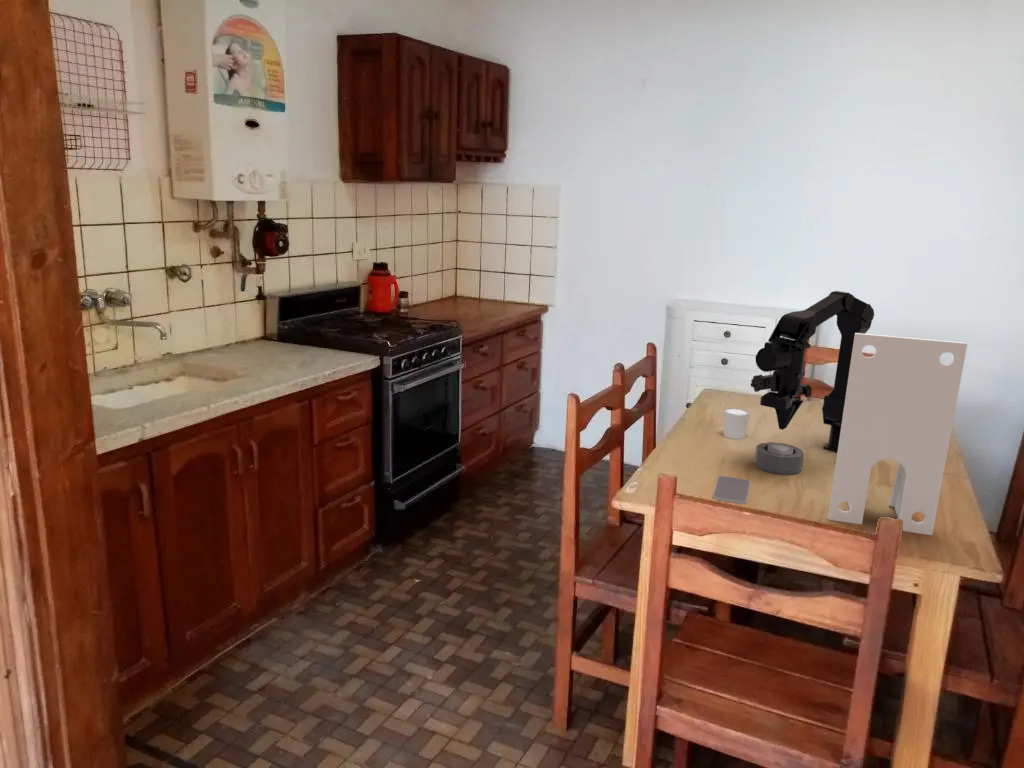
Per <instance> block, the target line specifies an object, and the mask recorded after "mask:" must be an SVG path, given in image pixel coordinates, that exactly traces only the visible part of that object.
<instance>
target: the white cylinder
mask: <svg viewBox="0 0 1024 768" xmlns="http://www.w3.org/2000/svg"><path fill="white" fill-rule="evenodd" d="M749 417H750V412H749V411H747V410H745V409H741V408H740V409H739V408H726V409H724V410H723V436H724V437H725V438H728V439H732V440H733V439H734V440H740V439H741V440H742V439H744V438H745V436H746V432H747V426H748V422H749Z"/></svg>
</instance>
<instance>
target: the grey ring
mask: <svg viewBox="0 0 1024 768" xmlns="http://www.w3.org/2000/svg"><path fill="white" fill-rule="evenodd" d="M770 444H782V445H787V446H790V447H792V448H793V455H779V454H774V453H770V452H768V451H767V450H768V445H770ZM804 457H805V453H804V451H803V449H801V448H800V447H797V446H795V445H791V444H789V443H788V444H786V443H782V442H771V441H769V442H762V443H761V442H760V443H759V444H757V445H755V452H754V466H755V467H756V468H757V469H759V470H761V471H763V472H766V473H770V474H774V475H781V476H782V475H783V476H790V475H791V476H793V475H797V474H799V473H801V471H802V468H803V463H804Z"/></svg>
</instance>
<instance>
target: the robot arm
mask: <svg viewBox="0 0 1024 768" xmlns="http://www.w3.org/2000/svg"><path fill="white" fill-rule="evenodd" d="M834 316H836V326H837V329H838V330H839V333H840V335H841V336H840V337H841V338H840V344H839V349H838V358H837V365H836V369H835V370H836V371H835V377H834V384H833V389H832V390H831V391H830V392H829V394H828V395H824V397H823V405H822V408H821V410H822V421H823V425H827V426H830V429H829V430H830V431H829V437H828V443H826V444H825V445H823V449H825V450H830V451H834V452H838V445H839V438H840V431H841V425H842V418H843V411H844V404H845V397H846V391H847V384H848V377H849V370H850V363H851V356H852V350H853V343H854V336H855V333H862V334H867V332H868V331H869V330H870V329H871V325H872V322H873V321H874V317H875V310H874V308H873V307H872V305H871V304H870V303H867V302H865V301H863V300H861V299H859V298H857V297H856V296H854V295H853V294H852V293H850V292H845V291H839V290H834V291H831V292H830V293H829V294H828V295H827V296H826V297H824V298H823V299H821V300H818V301H817V302H815V303H814V304H812V305H810V306H809V307H807V308H806V309H803V310H798V311H797V310H796V311H790V312H788V313H785V314H783V315H782V316H780V319H779V320H778V322H777V324H776V325H775V328H773V331H772V333H771V334H770V337H769V338H768V341H766V342H765V343H764V347H762V348H760V349H759V350H758V352H757V354H756V355H755V364H756V365H757V368H758V369H759V370H761V371H762V372H765V373H769V372H772V374H767V375H763V374H758V375H757V374H756V375H754V376H752V377H753V378H752V379H750V382H751V383H750V387H751V388H752V389H753V391H754V392H756V393H757V392H760V391H763V390H770V391H769V392H767V393H764V394H763V395H762V396H760V402H759V406H762V407H767V408H771V409H772V408H773V409H775V414H776V419H777V424H778V425H777V426H778V429H779V430H781V431H784V430H785V429H787V427H788V426H789V424H790V423H791V421H792V420H793V417H794V416H795V415H796V413H797V411H798V410H799V408H800V407H801V405H802V404H803V403H804V400H803V399H802V400H801V399H798V398H799V396H798V395H804V397H805V398H810V397H812V392H813V388H812V386H811V385H810V384H809V383H808V384H807V383H804V382H802V379H803V377H804V376H805V374H806V371H804V370H803V369H804V362H805V356H806V355H805V354H806V349H810V348H811V343H809V342H808V340H810V338H811V337H813V335H815V334H816V333H817V332H816V331H817V327H818V326H820V325H821V324H824V322H826V321H828V320H830V319H831V318H833V317H834Z"/></svg>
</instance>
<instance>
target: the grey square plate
mask: <svg viewBox="0 0 1024 768" xmlns="http://www.w3.org/2000/svg"><path fill="white" fill-rule="evenodd" d="M750 485H751V480H749V479H745V478H739V477H732V476H724V475H719V476H718V478H717V480H716V483H715V488H714V491H713V494H712V499H713V498H715V499H719V500H717V501H718V502H724V503H731V502H734V503H733V504H737V503H738V504H739V505H746V504H747V503H748V498H749V491H750ZM723 500H724V501H723ZM726 501H727V502H726Z"/></svg>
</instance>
